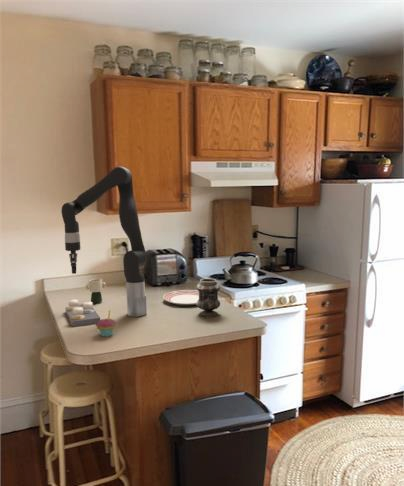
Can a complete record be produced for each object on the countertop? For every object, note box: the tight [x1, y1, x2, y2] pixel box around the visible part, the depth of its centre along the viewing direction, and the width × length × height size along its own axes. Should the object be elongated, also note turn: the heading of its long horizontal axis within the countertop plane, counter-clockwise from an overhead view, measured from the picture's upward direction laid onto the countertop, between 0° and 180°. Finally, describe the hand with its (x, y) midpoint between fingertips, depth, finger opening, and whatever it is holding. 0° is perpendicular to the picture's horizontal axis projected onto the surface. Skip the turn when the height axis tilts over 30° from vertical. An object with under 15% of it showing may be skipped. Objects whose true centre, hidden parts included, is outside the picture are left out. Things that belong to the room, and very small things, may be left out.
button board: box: [65, 304, 101, 328], centre depth 213 cm, size 26×13×3 cm, turn 25°
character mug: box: [85, 278, 107, 304], centre depth 239 cm, size 11×7×13 cm, turn 111°
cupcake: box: [95, 309, 117, 337], centre depth 186 cm, size 9×8×12 cm
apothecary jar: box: [195, 277, 221, 318], centre depth 214 cm, size 12×12×18 cm
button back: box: [67, 298, 79, 307], centre depth 218 cm, size 5×5×2 cm
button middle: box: [82, 301, 94, 309], centre depth 213 cm, size 5×5×2 cm
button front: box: [73, 307, 83, 315], centre depth 204 cm, size 5×5×2 cm
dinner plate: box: [162, 289, 199, 306], centre depth 241 cm, size 28×27×3 cm
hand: (74, 271), depth 220 cm, fingers open, 8 cm apart
